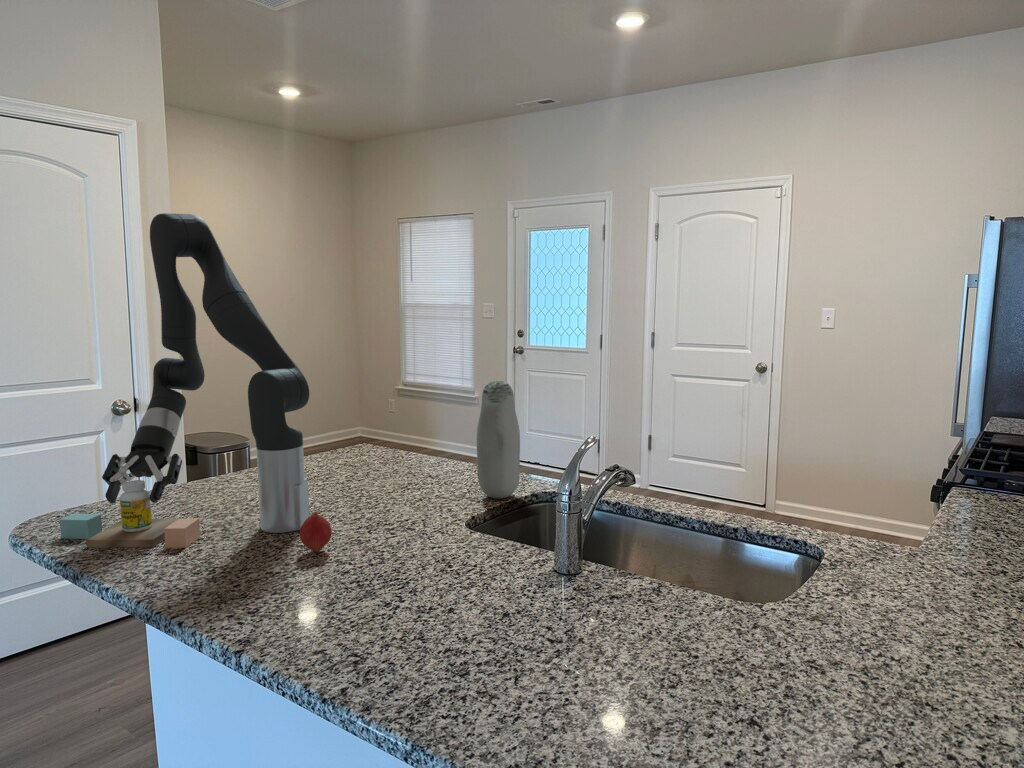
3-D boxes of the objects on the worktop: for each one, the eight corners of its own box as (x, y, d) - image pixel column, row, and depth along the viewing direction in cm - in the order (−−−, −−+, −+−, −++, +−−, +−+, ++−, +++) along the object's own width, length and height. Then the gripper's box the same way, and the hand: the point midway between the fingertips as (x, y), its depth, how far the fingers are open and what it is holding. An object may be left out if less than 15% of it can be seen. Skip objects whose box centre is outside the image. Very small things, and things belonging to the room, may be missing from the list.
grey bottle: (472, 494, 167) (470, 380, 164) (511, 489, 171) (510, 378, 167) (485, 505, 158) (483, 384, 155) (526, 500, 161) (525, 382, 158)
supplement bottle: (156, 523, 142) (153, 478, 141) (146, 532, 137) (142, 485, 136) (128, 524, 141) (125, 479, 140) (117, 533, 136) (113, 486, 135)
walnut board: (185, 525, 146) (184, 518, 146) (153, 547, 133) (153, 539, 133) (123, 525, 146) (123, 519, 145) (86, 547, 133) (85, 540, 133)
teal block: (102, 533, 142) (101, 514, 141) (88, 539, 138) (87, 520, 137) (75, 532, 142) (74, 513, 142) (61, 538, 139) (59, 519, 138)
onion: (293, 554, 128) (291, 512, 127) (315, 544, 133) (314, 504, 132) (317, 559, 126) (315, 517, 125) (338, 549, 131) (337, 508, 130)
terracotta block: (180, 537, 138) (179, 518, 138) (200, 537, 138) (198, 518, 138) (165, 548, 132) (164, 528, 132) (186, 548, 132) (184, 528, 132)
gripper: (115, 424, 144) (86, 492, 134) (183, 423, 144) (159, 491, 134) (131, 443, 150) (104, 510, 140) (196, 443, 150) (174, 509, 140)
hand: (131, 501), depth 137 cm, fingers open, 8 cm apart
